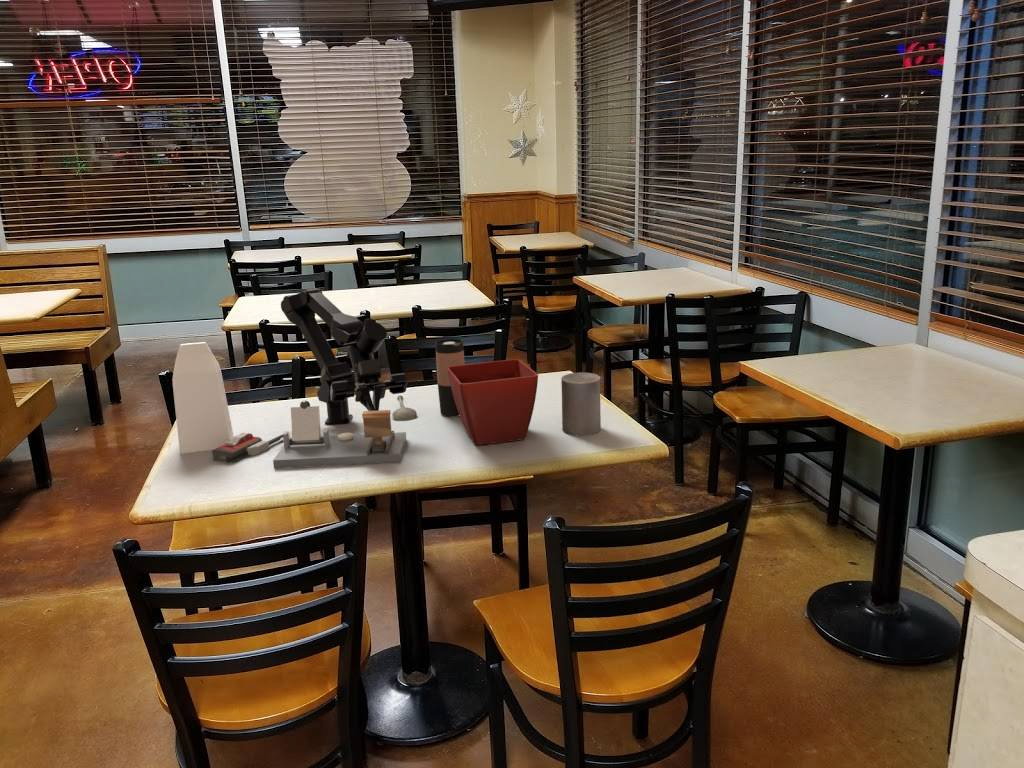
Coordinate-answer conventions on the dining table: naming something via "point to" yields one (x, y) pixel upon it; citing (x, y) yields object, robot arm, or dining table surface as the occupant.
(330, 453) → the control panel
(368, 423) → the walnut slider lever
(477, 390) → the plant pot
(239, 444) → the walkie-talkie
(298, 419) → the light grey piece
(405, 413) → the soupspoon
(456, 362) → the travel mug
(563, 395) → the pillar candle
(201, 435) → the milk
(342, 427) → the dining table surface
